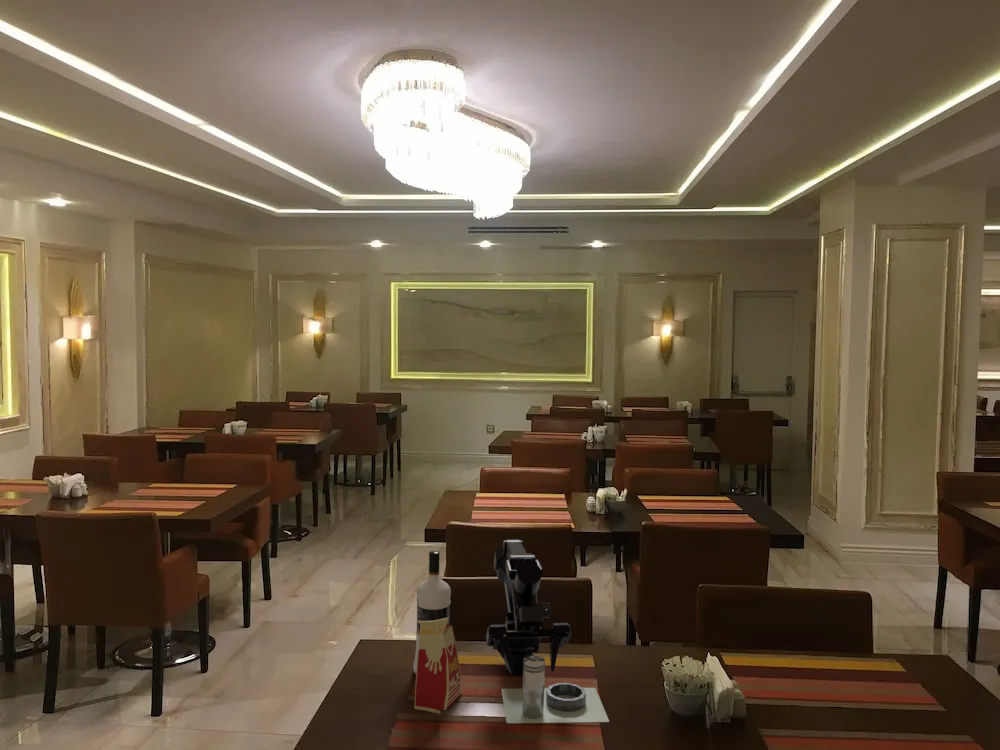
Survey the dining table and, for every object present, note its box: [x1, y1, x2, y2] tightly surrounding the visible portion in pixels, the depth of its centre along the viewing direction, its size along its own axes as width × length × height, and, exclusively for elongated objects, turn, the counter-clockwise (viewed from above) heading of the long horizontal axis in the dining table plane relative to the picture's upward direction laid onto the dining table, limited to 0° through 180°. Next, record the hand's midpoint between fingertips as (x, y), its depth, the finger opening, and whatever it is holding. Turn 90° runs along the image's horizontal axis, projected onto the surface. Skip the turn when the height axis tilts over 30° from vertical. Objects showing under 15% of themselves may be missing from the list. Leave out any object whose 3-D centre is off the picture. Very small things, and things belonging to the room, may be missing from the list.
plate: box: [500, 687, 610, 725], centre depth 179 cm, size 22×16×1 cm
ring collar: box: [546, 682, 586, 712], centre depth 180 cm, size 9×9×2 cm
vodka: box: [412, 550, 452, 674], centre depth 196 cm, size 9×9×30 cm
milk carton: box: [414, 616, 463, 715], centre depth 181 cm, size 9×9×20 cm
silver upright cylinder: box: [522, 654, 546, 719], centre depth 174 cm, size 5×5×12 cm
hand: (532, 672), depth 176 cm, fingers open, 9 cm apart
